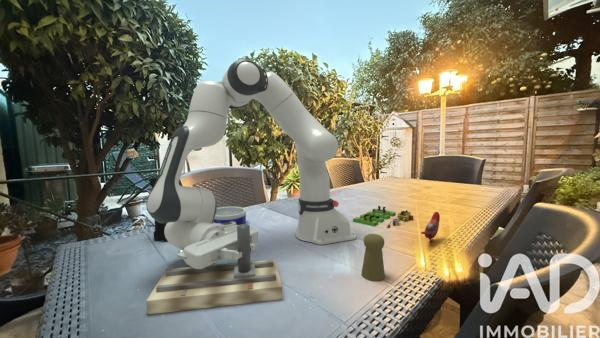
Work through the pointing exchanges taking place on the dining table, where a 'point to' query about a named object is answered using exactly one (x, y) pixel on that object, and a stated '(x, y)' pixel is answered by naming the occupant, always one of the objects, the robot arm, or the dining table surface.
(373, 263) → the olive green pawn
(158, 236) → the portable radio
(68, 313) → the dining table surface
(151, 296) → the fader board
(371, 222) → the toy garden set
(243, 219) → the dog bowl
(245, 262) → the fader knob
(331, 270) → the dining table surface
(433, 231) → the decorative bird figurine
